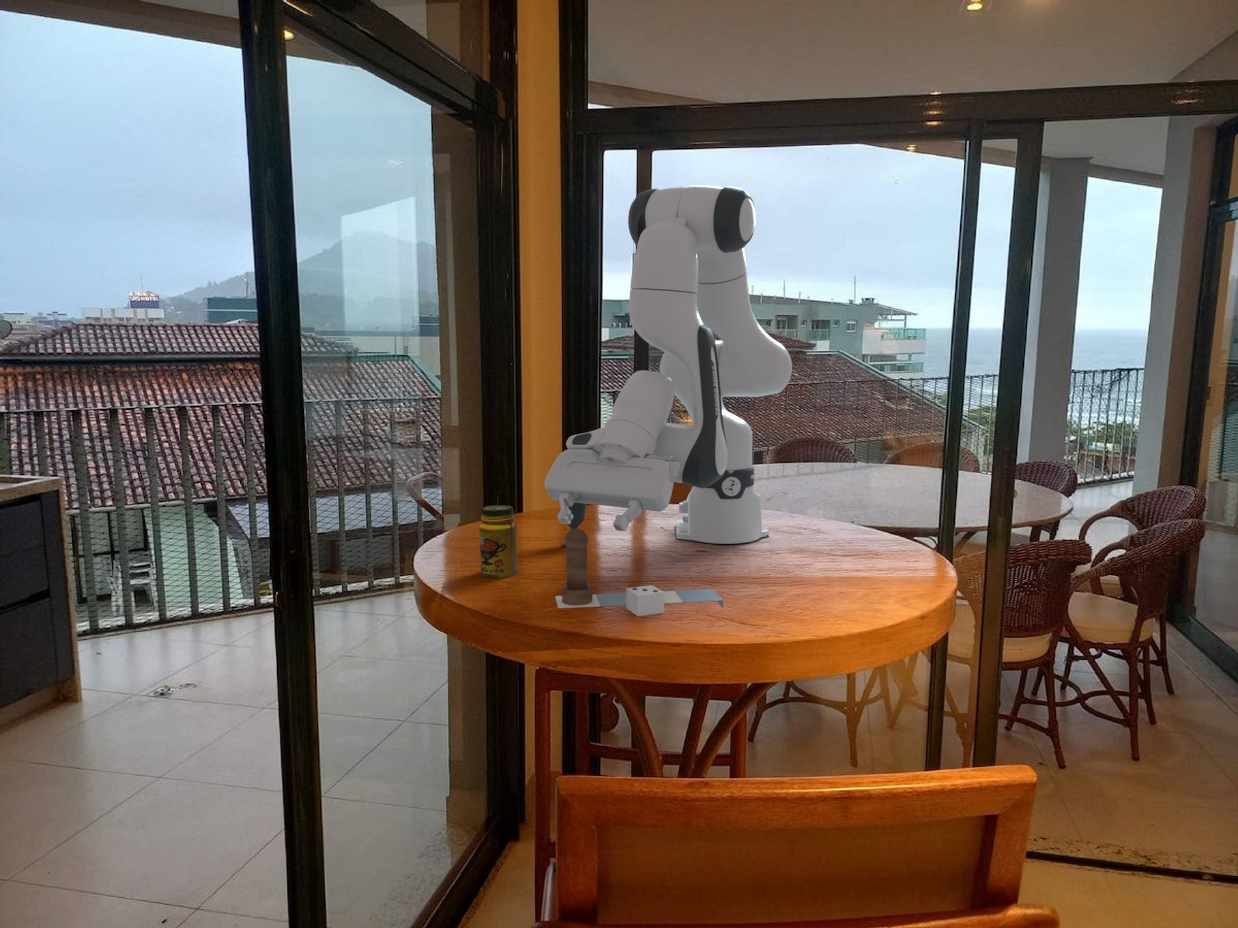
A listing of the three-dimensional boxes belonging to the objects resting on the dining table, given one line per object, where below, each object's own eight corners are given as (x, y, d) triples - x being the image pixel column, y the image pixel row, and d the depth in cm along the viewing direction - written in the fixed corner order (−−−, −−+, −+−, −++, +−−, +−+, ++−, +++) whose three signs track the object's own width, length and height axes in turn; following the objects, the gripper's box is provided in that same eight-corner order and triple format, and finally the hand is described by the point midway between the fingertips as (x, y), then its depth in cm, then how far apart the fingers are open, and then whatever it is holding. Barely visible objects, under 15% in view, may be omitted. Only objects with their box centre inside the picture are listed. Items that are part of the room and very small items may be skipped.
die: (626, 615, 122) (626, 587, 121) (652, 612, 123) (652, 584, 123) (637, 623, 118) (637, 594, 117) (664, 620, 120) (664, 591, 119)
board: (555, 602, 128) (555, 596, 128) (713, 595, 131) (713, 589, 131) (558, 614, 122) (558, 607, 122) (723, 606, 125) (723, 600, 125)
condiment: (474, 584, 138) (472, 511, 137) (483, 571, 147) (481, 502, 145) (520, 584, 138) (518, 511, 137) (526, 571, 147) (524, 501, 145)
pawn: (561, 597, 127) (560, 526, 126) (590, 595, 128) (590, 525, 126) (563, 605, 123) (562, 532, 121) (593, 604, 123) (593, 531, 122)
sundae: (552, 548, 164) (551, 469, 162) (563, 540, 170) (561, 465, 168) (585, 549, 162) (585, 470, 160) (595, 542, 168) (594, 466, 166)
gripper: (689, 470, 131) (660, 545, 124) (574, 461, 140) (541, 530, 133) (678, 444, 127) (647, 519, 119) (560, 435, 136) (524, 505, 129)
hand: (590, 525), depth 126 cm, fingers open, 8 cm apart
